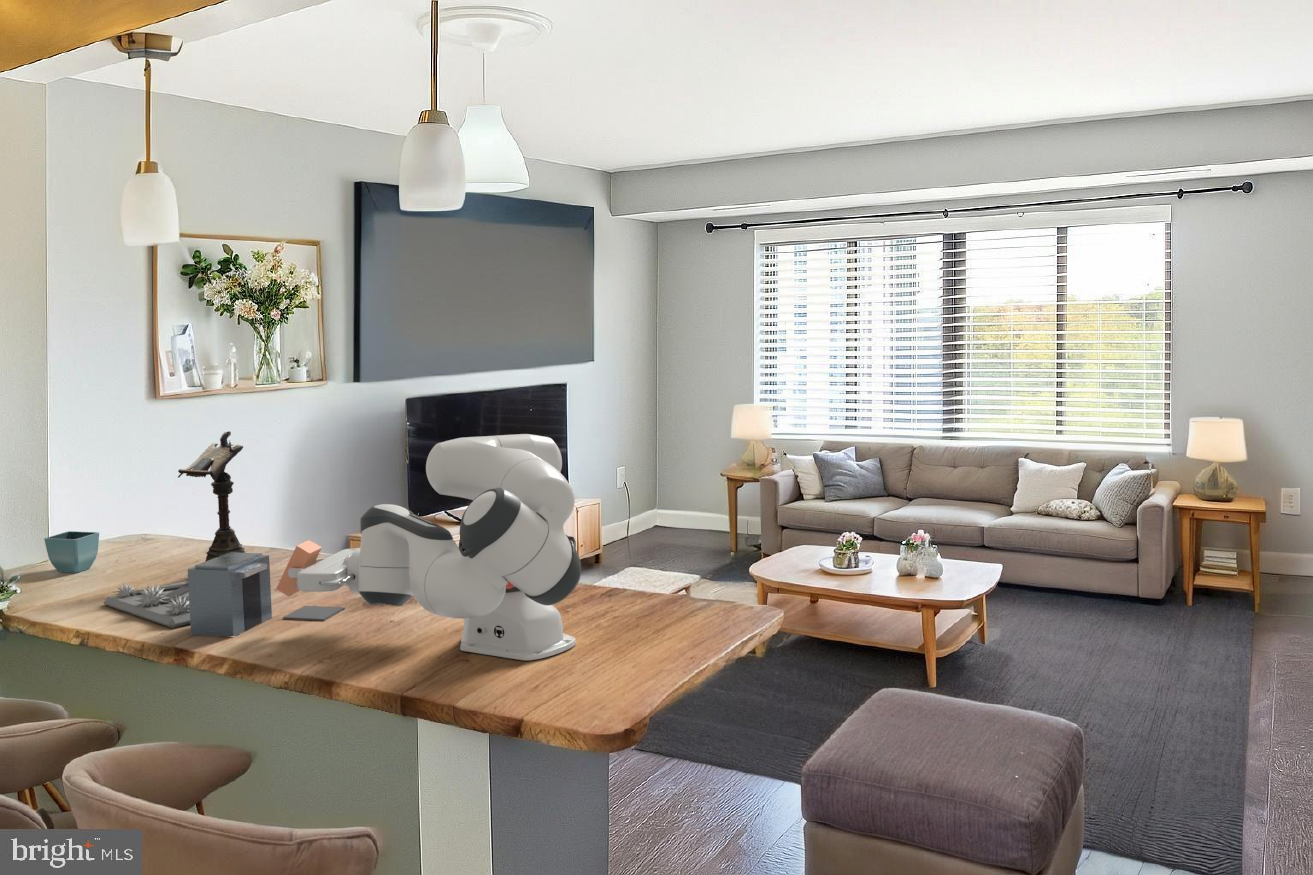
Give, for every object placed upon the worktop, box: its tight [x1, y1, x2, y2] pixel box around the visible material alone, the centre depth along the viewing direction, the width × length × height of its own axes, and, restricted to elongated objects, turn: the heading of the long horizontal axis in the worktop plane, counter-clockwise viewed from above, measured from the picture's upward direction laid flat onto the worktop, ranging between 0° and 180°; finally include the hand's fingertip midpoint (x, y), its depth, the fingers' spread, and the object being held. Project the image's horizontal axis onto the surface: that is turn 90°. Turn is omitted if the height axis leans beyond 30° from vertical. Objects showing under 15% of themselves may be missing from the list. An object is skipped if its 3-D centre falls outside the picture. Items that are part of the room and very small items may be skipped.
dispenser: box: [187, 552, 273, 637], centre depth 210 cm, size 10×14×14 cm
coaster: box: [282, 605, 345, 622], centre depth 220 cm, size 9×9×1 cm
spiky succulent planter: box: [103, 578, 191, 629], centre depth 226 cm, size 30×22×7 cm
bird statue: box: [177, 431, 246, 562], centre depth 251 cm, size 17×13×35 cm
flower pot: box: [43, 530, 100, 574], centre depth 259 cm, size 9×9×9 cm
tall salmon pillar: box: [275, 539, 323, 597], centre depth 207 cm, size 3×5×10 cm, turn 171°
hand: (298, 567), depth 207 cm, fingers closed on tall salmon pillar, 5 cm apart
